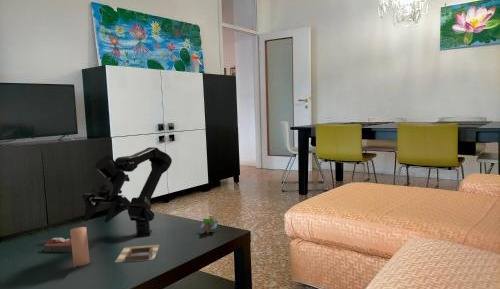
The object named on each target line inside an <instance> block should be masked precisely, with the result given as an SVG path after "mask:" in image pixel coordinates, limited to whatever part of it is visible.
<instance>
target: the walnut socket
mask: <svg viewBox="0 0 500 289" xmlns="http://www.w3.org/2000/svg"><path fill="white" fill-rule="evenodd" d="M137 252H148V254H147V255H136V256H131V254H132V253H137ZM152 252H153V247H145V248H132V249H130V250H129V252H128V254H127V255H126V257H125V259H126V261H132V260H144V259H149V258H150V256H151V254H152Z"/></svg>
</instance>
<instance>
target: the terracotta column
mask: <svg viewBox="0 0 500 289" xmlns="http://www.w3.org/2000/svg"><path fill="white" fill-rule="evenodd" d="M69 231H70V232H69V233H70V240H71V244H72V251H71V253H72V262H73V269H75V268H76V267H81V266H85V265H88V264H89V263H90V252H89V242H88V240H89V239H88V230H87V226H78V227H74V228H71V229H70V230H69Z"/></svg>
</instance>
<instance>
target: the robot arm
mask: <svg viewBox="0 0 500 289" xmlns="http://www.w3.org/2000/svg"><path fill="white" fill-rule="evenodd" d="M147 161H148V162H150V167H151V170H150V173H149V175H148V176H147V178H146V181H145V183H144V185H143V187H142V189H141V191H140V193H139V196H137V197H132V198H131V200H129V198H127V197H126V196H125V195H124V194H122V193H123V191H122V188H123V186H124V184H125V182H130V181H131V180H130V177H129V174H127V173H131V172H134V171H135V170H136V169H137V168H138V166H139V165H141V164H143V163H145V162H147ZM172 161H173V160H172V157H171V156H170V155H169V154H167V153H166V152H164V151H162V150H160V149H159V148H158V147H154V146H153V147H152V146H151V147H150V146H149V147H146V148H145V149H143V150H141V151H138V152H136V153H134V154H132V155H126V156H118V157H116V158H115V160H114V158H112V156H111V155H110V154H107V155H104V157H102V158H100V159H99V160H98V161H96V163H95V165H94V166H95V167H94V168H95V169H96V170H97V171H98V172H99V173H100V174H101V175H102V176H103V177H104V178H106V179H107V178H108V179H107V180H105V181H103V182H100V181H98V182H97V181H92V182H91V184H90V187H89V192H95V193H96V195H97V196H96V195H95V194H94V193H87V192H86V193H83V194H82V196H81V197H80V200H81V201H82V202H83V204H84V205H85V208H84V210H85V211H84V218H83V221H84V222H88V221H89V220H90V219H91V217H92V216H93V215H94V214H95V213H96V211H97V210H98V206H100V204H109V205H110V207H109V210H108V211H107V214H106V216H105V219H104V223H105V224H108V223H109V222H110V221H112V219H114V218H115V217H116V216H117V215H120V214H121V213H123V212H125V211H126V210H127V215H128V217H129V219H130V221H133V222H135V233H134V235H133V236H134V237H135V238H136V237H149V236H151V234H152V233H153V229H151V225H150V224H151V222H152V221H153V220H154V219H155V212H154V211H152V210H151V209H152V208H151V207H152V206H151V199H152V198H153V195H154V192H156V189H157V186H158V184H159V182H160V179H161V177H162V175H163V174H165V172H166V171H168V170H169V168H170V167H171V165H172Z"/></svg>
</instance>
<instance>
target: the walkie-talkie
mask: <svg viewBox="0 0 500 289" xmlns="http://www.w3.org/2000/svg"><path fill="white" fill-rule="evenodd" d="M39 244H43V252H46V253H47V252H48V253H58V252H59V253H60V252H61V253H72V244H71V238H67V239H65V238H63V237H53V238H51V239H49V240H40V241H39Z"/></svg>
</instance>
